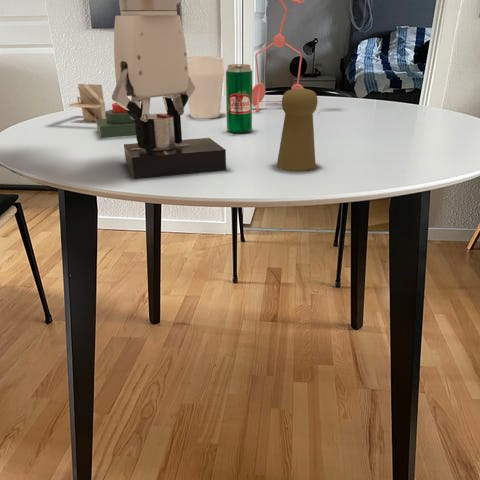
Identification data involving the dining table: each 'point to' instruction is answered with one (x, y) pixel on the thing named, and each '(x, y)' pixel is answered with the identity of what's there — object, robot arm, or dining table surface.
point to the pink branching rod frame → (258, 89)
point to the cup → (205, 86)
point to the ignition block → (116, 125)
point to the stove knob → (163, 131)
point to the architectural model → (90, 102)
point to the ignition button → (117, 108)
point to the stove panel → (176, 159)
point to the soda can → (239, 98)
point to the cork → (298, 131)
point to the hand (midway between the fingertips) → (160, 144)
